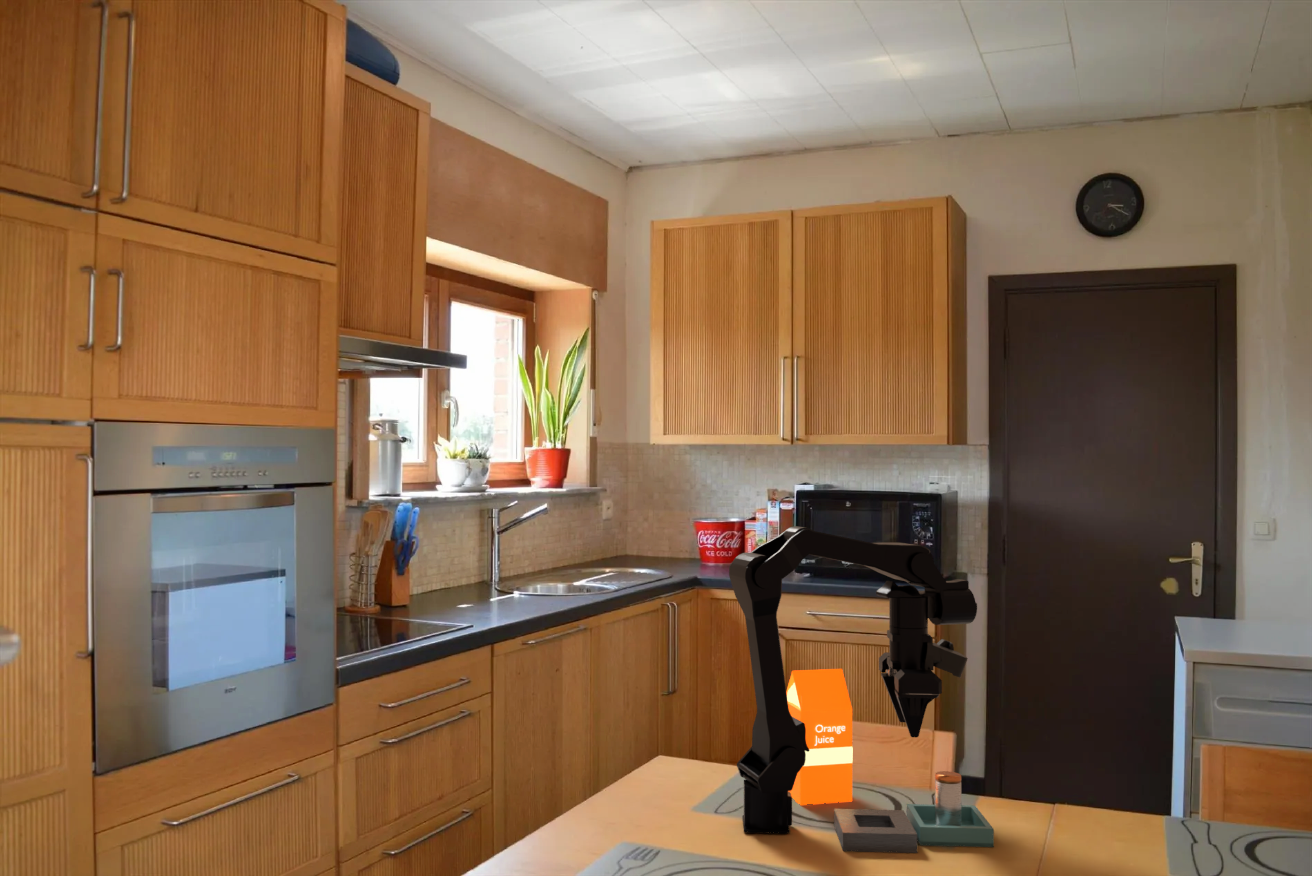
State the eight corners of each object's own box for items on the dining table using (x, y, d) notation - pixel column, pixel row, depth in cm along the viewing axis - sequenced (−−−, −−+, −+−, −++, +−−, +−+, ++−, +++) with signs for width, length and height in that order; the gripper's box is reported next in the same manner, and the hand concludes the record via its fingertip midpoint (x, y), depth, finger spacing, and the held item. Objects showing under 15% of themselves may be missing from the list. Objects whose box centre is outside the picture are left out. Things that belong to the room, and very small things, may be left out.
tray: (920, 845, 144) (920, 827, 144) (906, 821, 154) (906, 804, 154) (993, 847, 144) (993, 828, 144) (975, 822, 154) (975, 805, 154)
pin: (938, 834, 147) (938, 778, 148) (932, 825, 151) (932, 771, 151) (964, 834, 147) (964, 778, 147) (958, 826, 151) (957, 771, 151)
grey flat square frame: (842, 851, 142) (842, 832, 142) (834, 826, 152) (834, 808, 152) (917, 853, 141) (917, 834, 141) (903, 827, 151) (903, 810, 151)
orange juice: (782, 790, 168) (782, 666, 169) (833, 787, 171) (833, 664, 171) (800, 806, 161) (800, 675, 162) (853, 802, 163) (853, 673, 164)
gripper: (977, 636, 149) (978, 746, 149) (948, 618, 168) (948, 716, 167) (899, 635, 150) (899, 745, 149) (878, 617, 168) (878, 714, 168)
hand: (908, 729), depth 158 cm, fingers open, 9 cm apart
